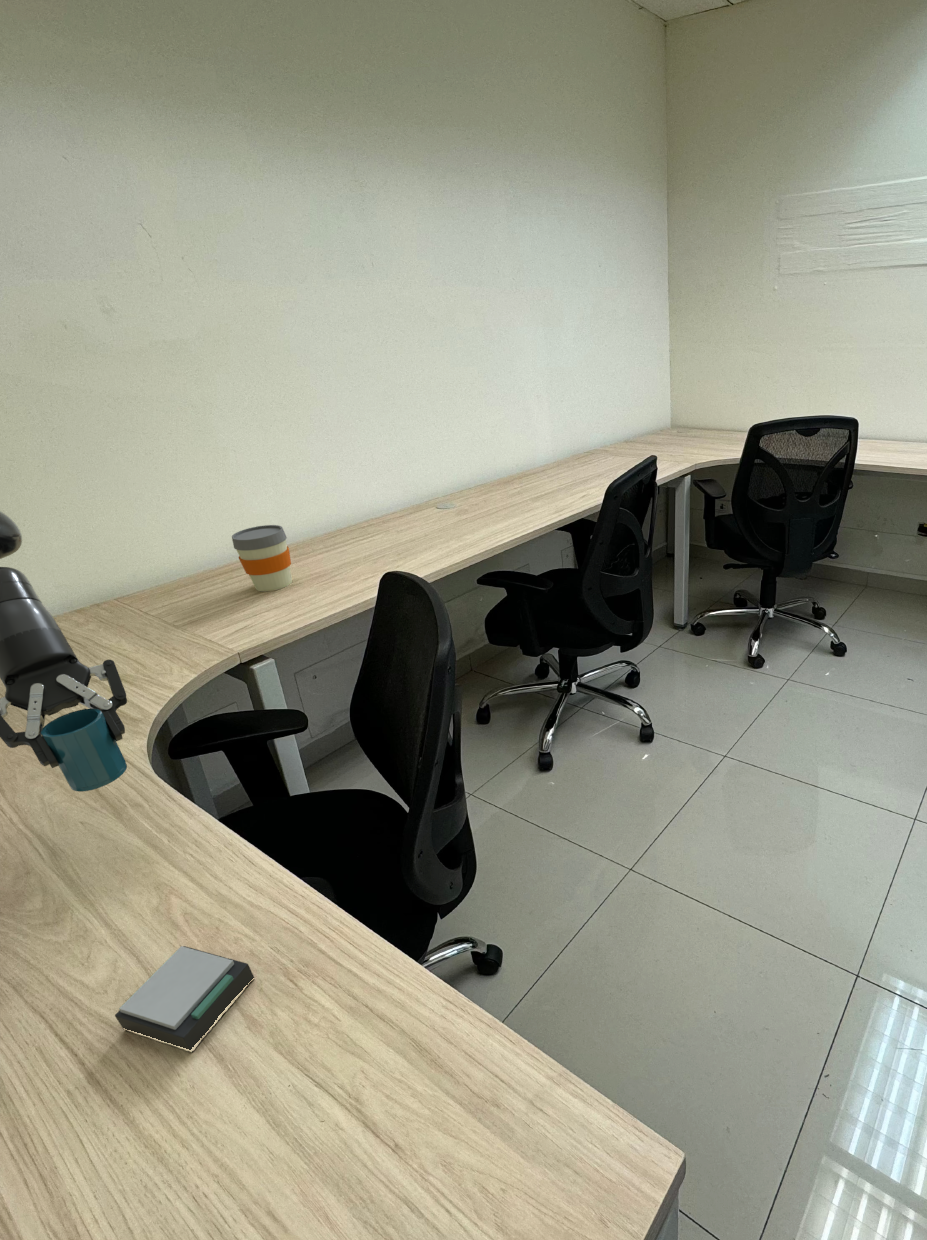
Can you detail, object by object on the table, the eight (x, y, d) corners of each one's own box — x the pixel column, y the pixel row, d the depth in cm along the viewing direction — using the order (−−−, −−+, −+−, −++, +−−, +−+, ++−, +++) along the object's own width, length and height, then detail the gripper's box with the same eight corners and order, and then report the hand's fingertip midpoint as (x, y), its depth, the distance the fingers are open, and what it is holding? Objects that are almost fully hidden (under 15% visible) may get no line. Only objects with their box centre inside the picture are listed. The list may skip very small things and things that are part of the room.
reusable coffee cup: (237, 592, 171) (218, 538, 165) (274, 574, 182) (258, 523, 176) (274, 596, 168) (256, 541, 161) (309, 577, 178) (294, 525, 172)
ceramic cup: (58, 787, 82) (28, 733, 78) (104, 758, 87) (78, 706, 84) (93, 794, 80) (64, 739, 77) (138, 764, 86) (113, 711, 82)
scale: (123, 1030, 66) (111, 1011, 64) (191, 960, 73) (181, 941, 71) (192, 1053, 63) (180, 1034, 62) (255, 978, 70) (246, 959, 69)
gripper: (-59, 653, 75) (8, 773, 73) (90, 609, 85) (153, 714, 83) (-44, 678, 80) (19, 790, 79) (95, 634, 90) (154, 733, 88)
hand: (87, 750), depth 81 cm, fingers closed on ceramic cup, 6 cm apart
